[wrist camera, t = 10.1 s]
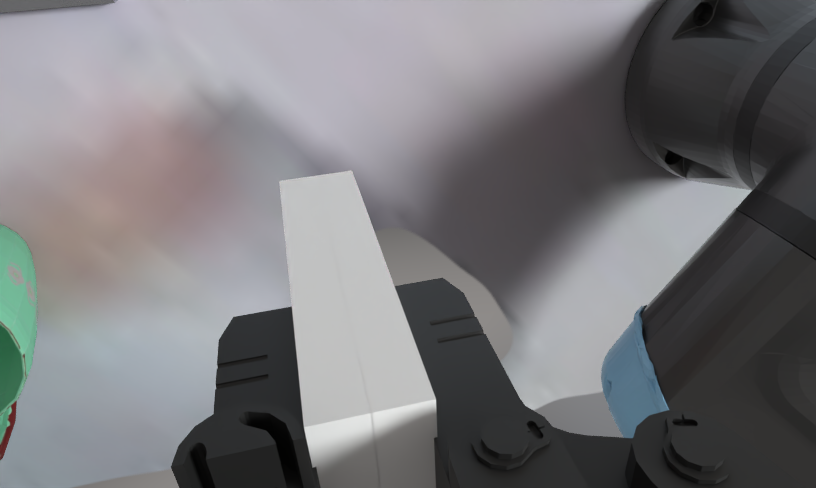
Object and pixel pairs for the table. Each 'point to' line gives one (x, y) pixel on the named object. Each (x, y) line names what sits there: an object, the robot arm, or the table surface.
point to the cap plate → (45, 4)
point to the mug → (15, 325)
